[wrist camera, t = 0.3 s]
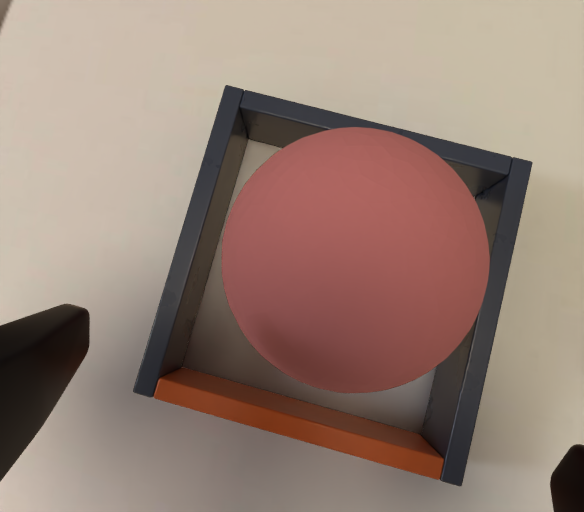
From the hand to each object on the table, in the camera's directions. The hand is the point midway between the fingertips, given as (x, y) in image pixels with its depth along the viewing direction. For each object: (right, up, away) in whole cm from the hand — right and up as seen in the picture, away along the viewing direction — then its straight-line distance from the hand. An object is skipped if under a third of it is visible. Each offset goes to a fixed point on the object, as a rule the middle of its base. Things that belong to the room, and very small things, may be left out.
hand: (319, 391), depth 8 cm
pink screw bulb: (+1, +1, +13) cm, 13 cm away
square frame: (+1, +1, +13) cm, 13 cm away
